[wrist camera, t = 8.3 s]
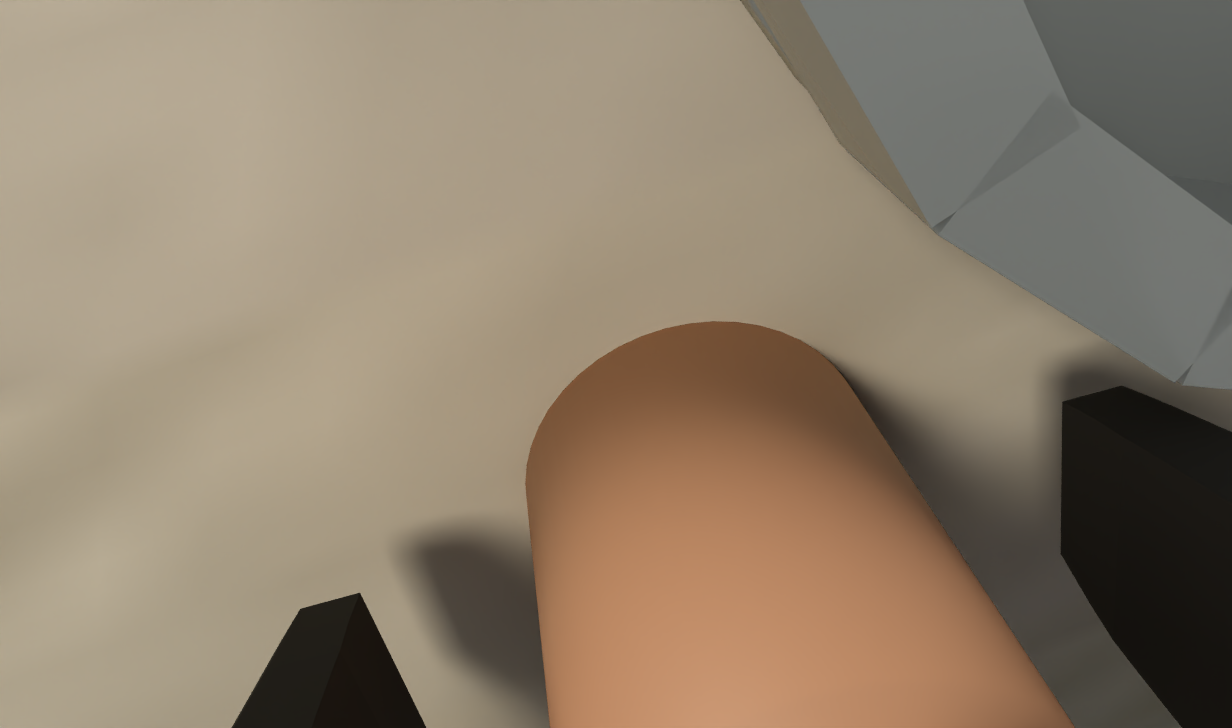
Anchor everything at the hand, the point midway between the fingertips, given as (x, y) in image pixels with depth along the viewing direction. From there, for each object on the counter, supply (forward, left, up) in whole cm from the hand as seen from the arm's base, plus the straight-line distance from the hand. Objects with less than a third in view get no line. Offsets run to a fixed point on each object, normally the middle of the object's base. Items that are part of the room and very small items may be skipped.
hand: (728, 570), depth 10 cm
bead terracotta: (0, 0, -2) cm, 2 cm away
